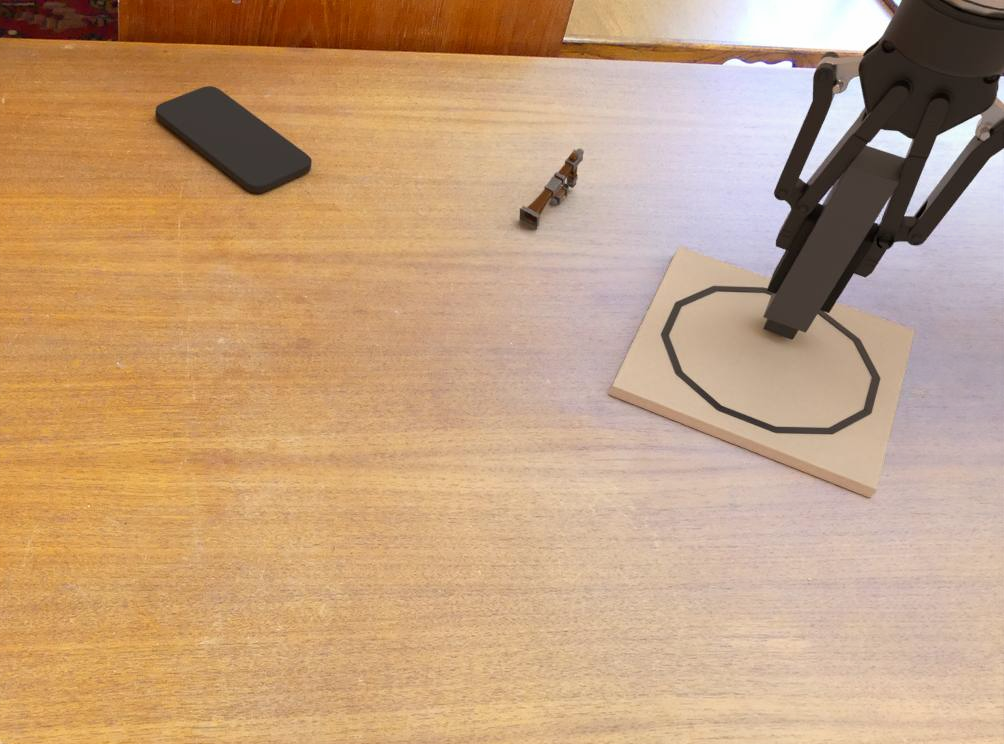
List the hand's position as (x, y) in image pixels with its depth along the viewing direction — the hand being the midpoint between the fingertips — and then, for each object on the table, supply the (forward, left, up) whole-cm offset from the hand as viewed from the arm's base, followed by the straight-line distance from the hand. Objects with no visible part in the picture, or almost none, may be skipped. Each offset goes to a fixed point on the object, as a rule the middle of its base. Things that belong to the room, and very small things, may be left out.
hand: (801, 291), depth 86 cm
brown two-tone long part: (+22, -7, -5) cm, 23 cm away
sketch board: (0, +3, -5) cm, 6 cm away
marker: (0, 0, -4) cm, 4 cm away
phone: (+50, 0, -5) cm, 50 cm away
